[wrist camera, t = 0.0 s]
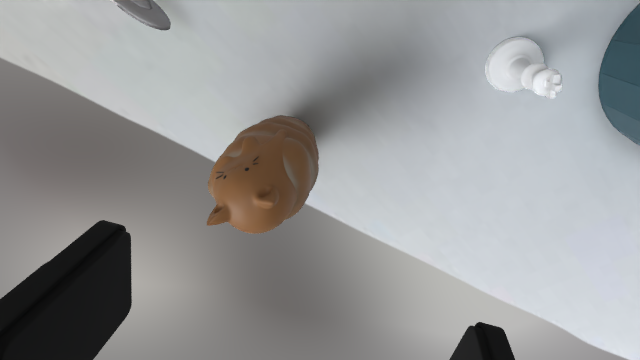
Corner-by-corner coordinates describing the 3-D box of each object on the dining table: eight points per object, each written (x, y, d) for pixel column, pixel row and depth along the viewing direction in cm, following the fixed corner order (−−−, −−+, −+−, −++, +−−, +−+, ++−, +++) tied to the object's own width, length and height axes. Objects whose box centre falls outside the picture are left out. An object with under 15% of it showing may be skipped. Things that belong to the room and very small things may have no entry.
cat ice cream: (315, 83, 39) (271, 145, 23) (344, 150, 42) (322, 248, 25) (241, 113, 41) (155, 188, 25) (273, 175, 44) (213, 278, 28)
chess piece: (546, 35, 34) (606, 49, 25) (536, 90, 36) (588, 121, 27) (488, 38, 35) (526, 53, 26) (482, 92, 37) (515, 123, 28)
